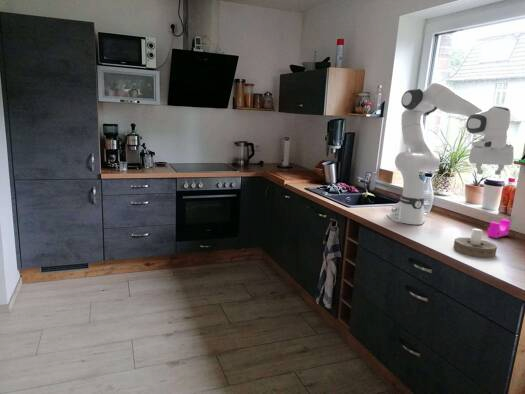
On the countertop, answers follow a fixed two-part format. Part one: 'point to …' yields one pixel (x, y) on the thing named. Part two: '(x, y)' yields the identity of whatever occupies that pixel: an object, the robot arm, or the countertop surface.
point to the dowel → (476, 236)
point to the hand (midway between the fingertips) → (488, 174)
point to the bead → (475, 248)
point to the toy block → (499, 228)
